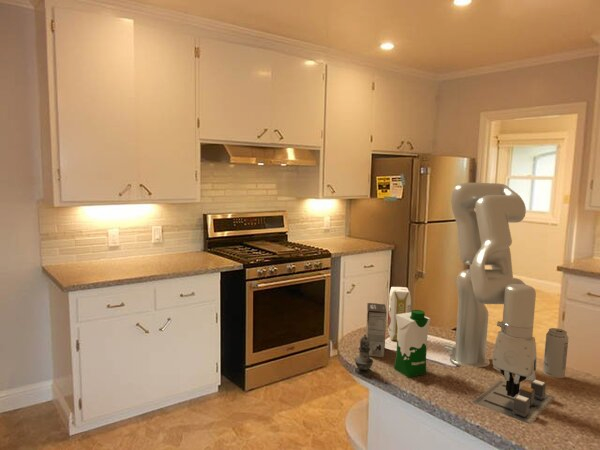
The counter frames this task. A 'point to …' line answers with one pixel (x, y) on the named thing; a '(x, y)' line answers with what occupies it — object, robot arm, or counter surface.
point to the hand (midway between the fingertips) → (512, 394)
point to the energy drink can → (555, 353)
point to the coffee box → (376, 328)
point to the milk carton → (412, 343)
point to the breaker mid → (527, 393)
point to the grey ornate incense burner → (364, 358)
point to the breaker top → (539, 389)
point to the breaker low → (521, 405)
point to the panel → (510, 402)
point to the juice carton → (397, 308)
